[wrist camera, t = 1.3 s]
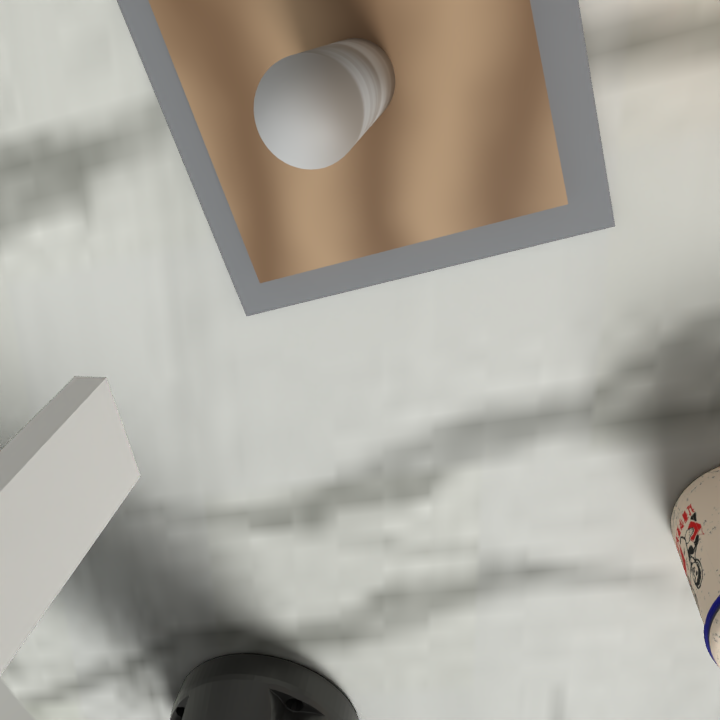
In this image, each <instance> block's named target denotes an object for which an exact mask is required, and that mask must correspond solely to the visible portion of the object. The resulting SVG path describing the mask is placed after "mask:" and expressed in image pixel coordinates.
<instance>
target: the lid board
mask: <svg viewBox="0 0 720 720" xmlns="http://www.w3.org/2000/svg"><path fill="white" fill-rule="evenodd" d="M148 1H149V3H150V6H151V8H152V11H153V13H154V16H155V18H156V21H157V23H158V26H159V29H160V31H161V34H162V36H163V39H164V41H165V44H166V46H167V49H168V51H169V54H170V56H171V59H172V62H173V64H174V67H175V69H176V72H177V74H178V77H179V79H180V82H181V84H182V87H183V89H184V92H185V95H186V97H187V100H188V102H189V105H190V107H191V110H192V112H193V115H194V117H195V120H196V123H197V125H198V128H199V130H200V133H201V135H202V138H203V140H204V143H205V145H206V148H207V150H208V153H209V156H210V158H211V161H212V163H213V166H214V168H215V171H216V173H217V176H218V178H219V181H220V183H221V186H222V189H223V191H224V194H225V196H226V199H227V201H228V204H229V206H230V209H231V211H232V214H233V216H234V219H235V222H236V224H237V227H238V229H239V232H240V234H241V237H242V239H243V242H244V244H245V247H246V249H247V252H248V255H249V257H250V260H251V262H252V265H253V267H254V270H255V272H256V275H257V277H258V280H259V282H260V283H264V282H268V281H271V280H275V279H279V278H283V277H287V276H291V275H295V274H299V273H303V272H306V271H310V270H314V269H318V268H322V267H326V266H330V265H334V264H337V263H341V262H345V261H349V260H353V259H357V258H361V257H365V256H369V255H372V254H376V253H380V252H384V251H388V250H392V249H396V248H400V247H404V246H407V245H411V244H415V243H419V242H423V241H427V240H431V239H435V238H439V237H442V236H446V235H450V234H454V233H458V232H462V231H466V230H470V229H473V228H477V227H481V226H485V225H489V224H493V223H497V222H501V221H505V220H508V219H512V218H516V217H520V216H524V215H528V214H532V213H536V212H540V211H543V210H547V209H551V208H555V207H559V206H563V205H567V204H568V200H567V195H566V189H565V184H564V179H563V173H562V168H561V163H560V157H559V152H558V147H557V142H556V136H555V131H554V126H553V120H552V115H551V110H550V104H549V99H548V94H547V89H546V83H545V78H544V73H543V67H542V62H541V57H540V51H539V46H538V41H537V36H536V30H535V25H534V20H533V14H532V9H531V4H530V0H148Z"/></svg>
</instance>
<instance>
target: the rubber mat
mask: <svg viewBox="0 0 720 720" xmlns="http://www.w3.org/2000/svg"><path fill="white" fill-rule="evenodd" d="M117 2H118V4H119V7H120V9H121V12H122V14H123V17H124V19H125V21H126V24H127V26H128V29H129V31H130V34H131V36H132V38H133V41H134V43H135V46H136V48H137V51H138V53H139V55H140V58H141V60H142V63H143V65H144V68H145V70H146V73H147V75H148V77H149V80H150V82H151V85H152V87H153V90H154V92H155V94H156V97H157V99H158V102H159V104H160V107H161V109H162V111H163V114H164V116H165V119H166V121H167V124H168V126H169V129H170V131H171V133H172V136H173V138H174V141H175V143H176V146H177V148H178V150H179V153H180V155H181V158H182V160H183V163H184V165H185V167H186V170H187V172H188V175H189V177H190V180H191V182H192V185H193V187H194V189H195V192H196V194H197V197H198V199H199V202H200V204H201V206H202V209H203V211H204V214H205V216H206V219H207V221H208V223H209V226H210V228H211V231H212V233H213V236H214V238H215V241H216V243H217V245H218V248H219V250H220V253H221V255H222V258H223V260H224V262H225V265H226V267H227V270H228V272H229V275H230V277H231V279H232V282H233V284H234V287H235V289H236V292H237V294H238V296H239V299H240V301H241V304H242V306H243V309H244V311H245V314H246V316H250V315H254V314H258V313H262V312H266V311H270V310H274V309H278V308H282V307H287V306H291V305H295V304H299V303H303V302H307V301H311V300H315V299H319V298H323V297H327V296H332V295H336V294H340V293H344V292H348V291H352V290H356V289H360V288H364V287H368V286H372V285H376V284H381V283H385V282H389V281H393V280H397V279H401V278H405V277H409V276H413V275H417V274H421V273H426V272H430V271H434V270H438V269H442V268H446V267H450V266H454V265H458V264H462V263H466V262H471V261H475V260H479V259H483V258H487V257H491V256H495V255H499V254H503V253H507V252H511V251H516V250H520V249H524V248H528V247H532V246H536V245H540V244H544V243H548V242H552V241H556V240H561V239H565V238H569V237H573V236H577V235H581V234H585V233H589V232H593V231H597V230H601V229H606V228H610V227H614V226H615V223H614V217H613V211H612V205H611V199H610V192H609V186H608V180H607V174H606V168H605V162H604V155H603V149H602V143H601V137H600V131H599V125H598V119H597V112H596V106H595V100H594V94H593V88H592V82H591V76H590V69H589V63H588V57H587V51H586V45H585V39H584V33H583V26H582V20H581V14H580V8H579V2H578V0H530V4H531V9H532V14H533V20H534V25H535V30H536V36H537V41H538V46H539V51H540V57H541V62H542V67H543V73H544V78H545V83H546V89H547V94H548V99H549V104H550V110H551V115H552V120H553V126H554V131H555V136H556V142H557V147H558V152H559V157H560V163H561V168H562V173H563V179H564V184H565V189H566V195H567V200H568V204H567V205H563V206H559V207H555V208H551V209H547V210H543V211H540V212H536V213H532V214H528V215H524V216H520V217H516V218H512V219H508V220H505V221H501V222H497V223H493V224H489V225H485V226H481V227H477V228H473V229H470V230H466V231H462V232H458V233H454V234H450V235H446V236H442V237H439V238H435V239H431V240H427V241H423V242H419V243H415V244H411V245H407V246H404V247H400V248H396V249H392V250H388V251H384V252H380V253H376V254H372V255H369V256H365V257H361V258H357V259H353V260H349V261H345V262H341V263H337V264H334V265H330V266H326V267H322V268H318V269H314V270H310V271H306V272H303V273H299V274H295V275H291V276H287V277H283V278H279V279H275V280H271V281H268V282H264V283H260V282H259V280H258V277H257V275H256V272H255V270H254V267H253V265H252V262H251V260H250V257H249V255H248V252H247V249H246V247H245V244H244V242H243V239H242V237H241V234H240V232H239V229H238V227H237V224H236V222H235V219H234V216H233V214H232V211H231V209H230V206H229V204H228V201H227V199H226V196H225V194H224V191H223V189H222V186H221V183H220V181H219V178H218V176H217V173H216V171H215V168H214V166H213V163H212V161H211V158H210V156H209V153H208V150H207V148H206V145H205V143H204V140H203V138H202V135H201V133H200V130H199V128H198V125H197V123H196V120H195V117H194V115H193V112H192V110H191V107H190V105H189V102H188V100H187V97H186V95H185V92H184V89H183V87H182V84H181V82H180V79H179V77H178V74H177V72H176V69H175V67H174V64H173V62H172V59H171V56H170V54H169V51H168V49H167V46H166V44H165V41H164V39H163V36H162V34H161V31H160V29H159V26H158V23H157V21H156V18H155V16H154V13H153V11H152V8H151V6H150V3H149V1H148V0H117Z"/></svg>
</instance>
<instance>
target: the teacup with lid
mask: <svg viewBox="0 0 720 720" xmlns="http://www.w3.org/2000/svg"><path fill="white" fill-rule="evenodd" d="M671 531H672V536H673V539H674V542H675V545H676V547H677V550H678V553H679V556H680V559H681V562H682V564H683V567H684V570H685V573H686V576H687V578H688V581H689V584H690V587H691V590H692V592H693V595H694V598H695V601H696V604H697V607H698V609H699V612H700V615H701V618H702V621H703V623H704V639H705V644H706V647H707V649H708V652H709V654H710V656H711V657H712V659H713V660H714V662H715V663H716V664H717V665H718V666H719V668H720V467H717V468H715V469H713V470H711V471H709V472H707V473H705V474H704V475H702V476H700V477H699V478H697V479H696V480H695V481H694V482H692V483H691V484H690V485H689V486H688V487H687V488H686V489H685V490H684V491H683V493H682V494H681V495H680V497H679V499H678V500H677V502H676V504H675V507H674V509H673V513H672V517H671Z"/></svg>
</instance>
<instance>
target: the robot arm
mask: <svg viewBox="0 0 720 720" xmlns="http://www.w3.org/2000/svg"><path fill="white" fill-rule="evenodd" d="M140 477H141V475H140V472H139V469H138V467H137V464H136V461H135V458H134V455H133V452H132V449H131V446H130V444H129V441H128V438H127V435H126V432H125V429H124V426H123V424H122V421H121V418H120V415H119V412H118V409H117V406H116V403H115V401H114V398H113V395H112V392H111V389H110V386H109V383H108V381H107V378H106V377H80V376H75V377H74V378H73V379H72V380H71V381H70V382H69V383H68V384H67V385H66V386H65V387H64V388H63V389H62V390H61V391H60V392H59V393H58V394H57V395H56V396H55V397H54V398H53V399H52V400H51V401H50V402H49V403H48V404H47V405H46V406H45V407H44V408H43V409H42V410H41V411H40V412H39V413H38V414H37V415H36V416H35V417H34V418H33V419H32V420H31V421H30V422H29V423H28V424H27V425H26V426H25V427H24V428H23V429H22V430H21V431H20V432H19V433H18V434H17V435H16V436H15V437H14V438H13V439H12V440H11V441H10V442H9V443H8V444H7V445H6V446H5V447H4V448H3V449H2V450H1V451H0V676H1V675H2V673H3V672H4V670H5V669H6V667H7V666H8V665H9V663H10V662H11V660H12V659H13V658H14V656H15V655H16V653H17V652H18V650H19V649H20V648H21V646H22V645H23V643H24V642H25V640H26V639H27V638H28V636H29V635H30V633H31V632H32V630H33V629H34V628H35V626H36V625H37V623H38V622H39V621H40V619H41V618H42V616H43V615H44V613H45V612H46V611H47V609H48V608H49V606H50V605H51V603H52V602H53V601H54V599H55V598H56V596H57V595H58V594H59V592H60V591H61V589H62V588H63V586H64V585H65V584H66V582H67V581H68V579H69V578H70V576H71V575H72V574H73V572H74V571H75V569H76V568H77V566H78V565H79V564H80V562H81V561H82V559H83V558H84V557H85V555H86V554H87V552H88V551H89V549H90V548H91V547H92V545H93V544H94V542H95V541H96V539H97V538H98V537H99V535H100V534H101V532H102V531H103V530H104V528H105V527H106V525H107V524H108V522H109V521H110V520H111V518H112V517H113V515H114V514H115V512H116V511H117V510H118V508H119V507H120V505H121V504H122V502H123V501H124V500H125V498H126V497H127V495H128V494H129V493H130V491H131V490H132V488H133V487H134V485H135V484H136V483H137V481H138V480H139V478H140ZM170 720H358V717H357V714H356V712H355V710H354V708H353V707H352V705H351V704H350V702H349V701H348V699H347V698H346V697H345V696H344V695H343V694H342V693H341V692H340V691H339V690H338V689H337V688H336V687H335V686H334V685H333V684H331V683H330V682H329V681H327V680H326V679H324V678H323V677H321V676H320V675H318V674H317V673H315V672H313V671H311V670H309V669H307V668H305V667H303V666H300V665H298V664H295V663H293V662H290V661H287V660H283V659H279V658H275V657H271V656H264V655H256V654H235V655H227V656H222V657H218V658H215V659H212V660H209V661H207V662H205V663H203V664H201V665H200V666H198V667H197V668H195V669H194V670H193V671H192V672H191V673H190V674H189V675H188V676H187V678H186V679H185V681H184V683H183V685H182V687H181V689H180V692H179V694H178V696H177V699H176V701H175V703H174V706H173V709H172V713H171V717H170Z"/></svg>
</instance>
